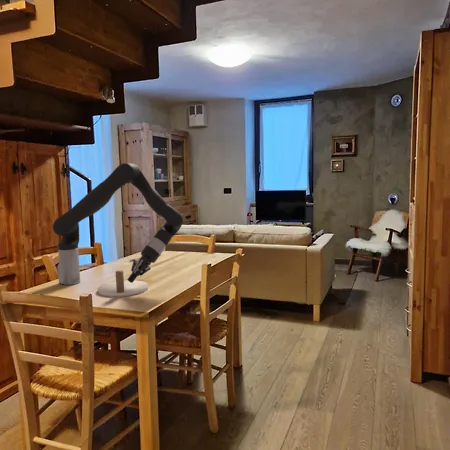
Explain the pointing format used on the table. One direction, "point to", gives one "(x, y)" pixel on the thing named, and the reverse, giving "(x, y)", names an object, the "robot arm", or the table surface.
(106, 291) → the dial
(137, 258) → the adjustable wrench
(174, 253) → the table surface
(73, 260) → the robot arm
